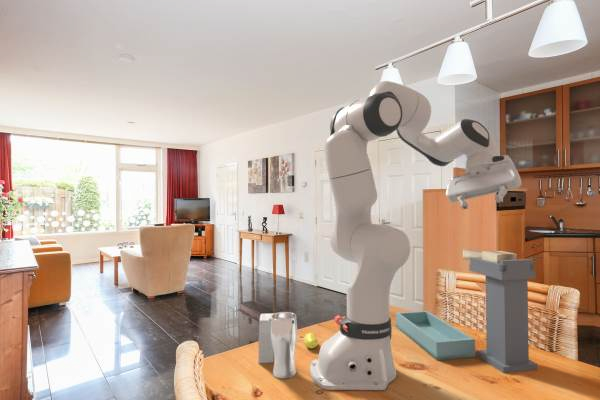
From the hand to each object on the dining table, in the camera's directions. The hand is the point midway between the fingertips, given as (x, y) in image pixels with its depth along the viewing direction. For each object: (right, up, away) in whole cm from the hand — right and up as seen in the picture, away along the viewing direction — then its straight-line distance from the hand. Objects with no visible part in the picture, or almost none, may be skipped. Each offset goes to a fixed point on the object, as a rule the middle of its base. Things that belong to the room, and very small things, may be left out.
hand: (481, 204), depth 97 cm
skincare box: (-62, -45, 0) cm, 76 cm away
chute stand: (+4, -44, -2) cm, 44 cm away
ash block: (+3, -18, +4) cm, 18 cm away
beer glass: (-56, -44, -8) cm, 72 cm away
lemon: (-49, -45, +8) cm, 66 cm away
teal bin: (-10, -44, +12) cm, 46 cm away
